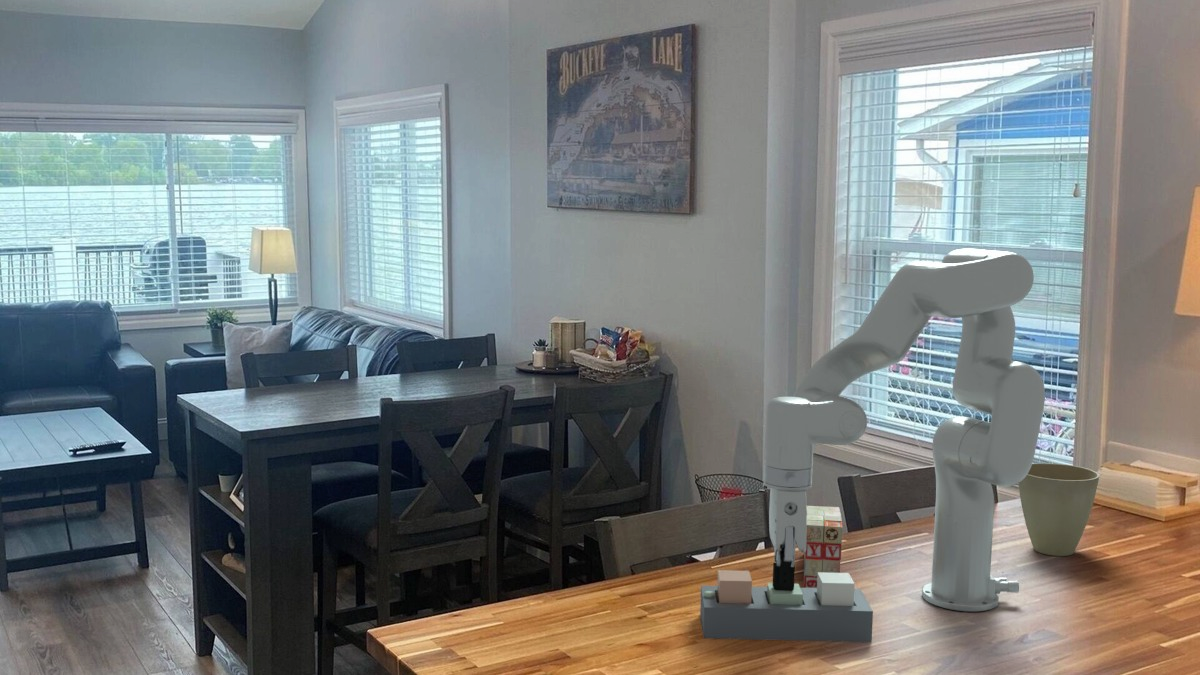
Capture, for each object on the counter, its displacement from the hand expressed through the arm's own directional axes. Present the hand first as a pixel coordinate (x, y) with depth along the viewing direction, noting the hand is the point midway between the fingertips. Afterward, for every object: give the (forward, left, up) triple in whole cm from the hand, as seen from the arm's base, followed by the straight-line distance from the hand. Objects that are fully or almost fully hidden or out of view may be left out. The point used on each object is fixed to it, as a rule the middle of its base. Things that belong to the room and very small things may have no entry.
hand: (783, 588), depth 183 cm
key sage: (0, 0, -5) cm, 5 cm away
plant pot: (-58, -44, -7) cm, 73 cm away
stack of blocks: (-11, -28, -7) cm, 30 cm away
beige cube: (+8, 0, -3) cm, 8 cm away
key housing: (0, 0, -7) cm, 7 cm away
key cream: (-8, 0, -3) cm, 9 cm away
